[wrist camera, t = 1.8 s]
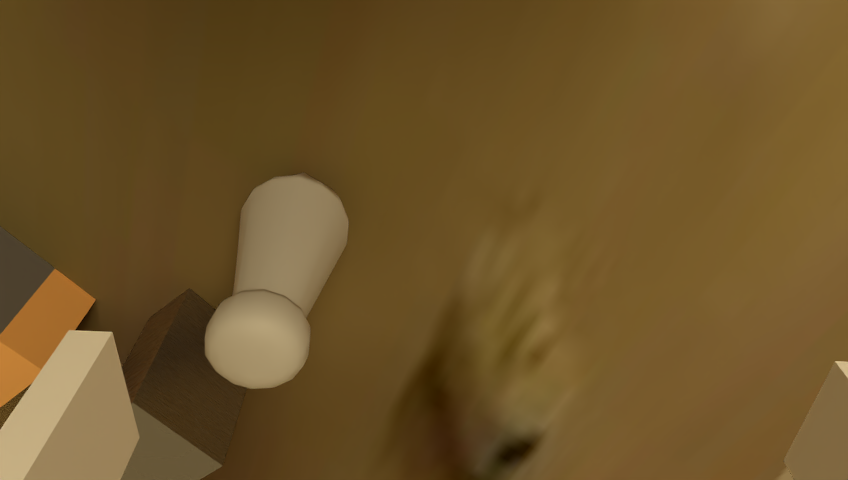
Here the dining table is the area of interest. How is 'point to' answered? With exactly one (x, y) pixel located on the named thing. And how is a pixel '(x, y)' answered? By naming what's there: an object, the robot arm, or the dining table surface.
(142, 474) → the block
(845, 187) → the dining table surface
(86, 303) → the plug
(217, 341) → the salt shaker
